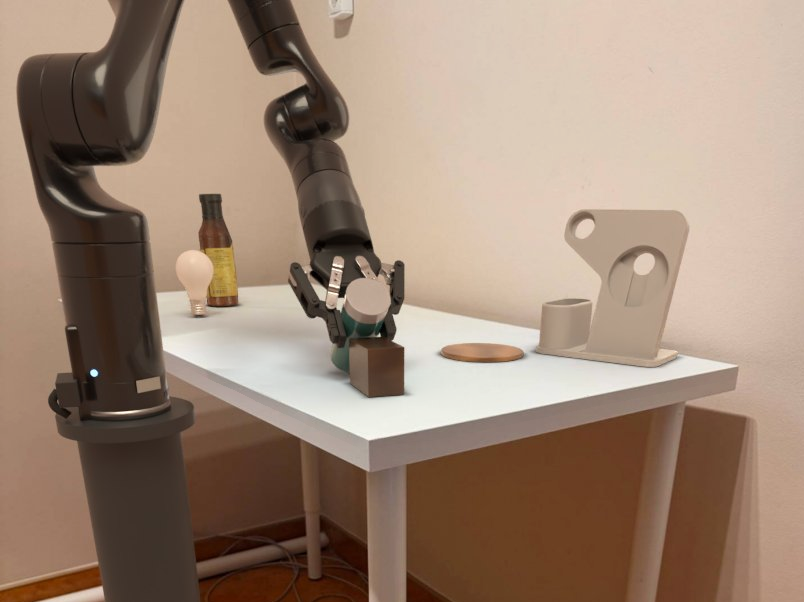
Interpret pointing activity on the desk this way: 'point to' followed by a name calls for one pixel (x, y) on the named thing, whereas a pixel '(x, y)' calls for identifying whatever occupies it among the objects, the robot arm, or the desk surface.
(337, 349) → the salt shaker
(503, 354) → the cork coaster
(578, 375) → the desk surface
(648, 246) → the phone holder
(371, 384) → the walnut block
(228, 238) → the sauce bottle
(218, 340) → the desk surface
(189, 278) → the lightbulb
